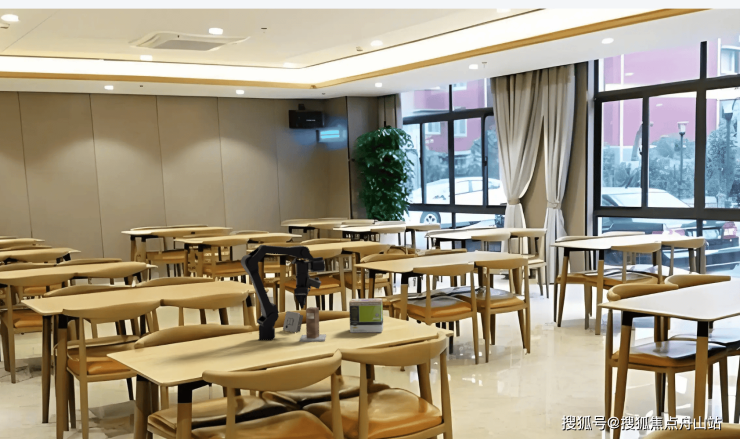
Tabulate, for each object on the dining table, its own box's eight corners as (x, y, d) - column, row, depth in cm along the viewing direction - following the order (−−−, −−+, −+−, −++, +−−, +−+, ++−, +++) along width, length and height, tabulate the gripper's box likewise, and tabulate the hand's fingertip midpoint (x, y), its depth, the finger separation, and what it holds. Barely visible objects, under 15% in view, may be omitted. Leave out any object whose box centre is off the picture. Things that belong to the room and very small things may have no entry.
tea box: (383, 328, 341) (383, 297, 341) (381, 333, 331) (381, 301, 331) (352, 328, 343) (351, 298, 342) (349, 333, 333) (348, 301, 332)
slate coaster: (299, 341, 316) (299, 339, 315) (301, 336, 326) (301, 334, 326) (324, 341, 316) (324, 339, 316) (326, 336, 327) (326, 334, 327)
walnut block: (305, 338, 319) (305, 309, 318) (310, 335, 324) (309, 307, 323) (315, 338, 318) (314, 309, 317) (319, 336, 322) (318, 307, 322)
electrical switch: (282, 330, 341) (283, 311, 341) (290, 330, 345) (291, 310, 345) (295, 333, 335) (296, 313, 335) (303, 332, 338) (304, 312, 339)
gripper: (318, 275, 319) (319, 309, 320) (321, 270, 338) (321, 303, 339) (293, 275, 319) (294, 310, 320) (297, 270, 338) (298, 303, 339)
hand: (303, 306), depth 329 cm, fingers open, 9 cm apart
